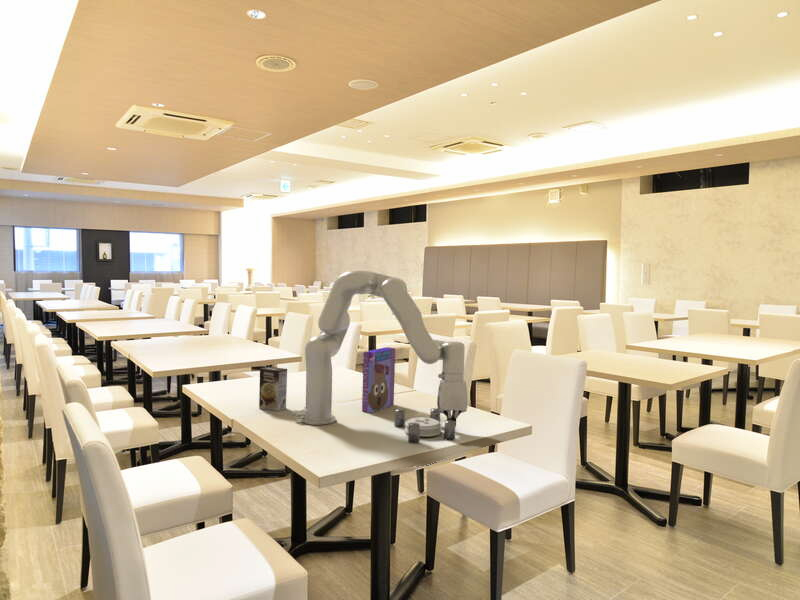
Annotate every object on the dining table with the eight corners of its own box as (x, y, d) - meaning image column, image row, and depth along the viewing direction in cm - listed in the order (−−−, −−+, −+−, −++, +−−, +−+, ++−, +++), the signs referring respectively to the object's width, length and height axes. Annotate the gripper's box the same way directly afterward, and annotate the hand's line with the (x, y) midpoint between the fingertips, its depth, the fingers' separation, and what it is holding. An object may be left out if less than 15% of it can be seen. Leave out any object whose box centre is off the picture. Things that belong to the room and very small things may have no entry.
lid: (442, 430, 197) (443, 416, 197) (439, 440, 185) (439, 425, 185) (407, 427, 199) (408, 413, 199) (401, 437, 187) (402, 423, 187)
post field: (409, 444, 179) (410, 425, 179) (393, 425, 201) (393, 408, 201) (457, 441, 183) (458, 423, 183) (436, 423, 205) (437, 407, 205)
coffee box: (258, 408, 219) (258, 368, 218) (268, 405, 225) (268, 366, 224) (277, 411, 216) (278, 370, 215) (287, 408, 222) (287, 368, 221)
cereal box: (372, 413, 217) (373, 352, 216) (362, 411, 219) (363, 351, 218) (393, 404, 233) (395, 347, 231) (383, 403, 235) (385, 346, 234)
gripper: (435, 379, 188) (434, 432, 189) (476, 378, 192) (475, 430, 193) (429, 375, 196) (427, 426, 196) (468, 374, 199) (467, 424, 200)
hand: (451, 428), depth 195 cm, fingers closed
